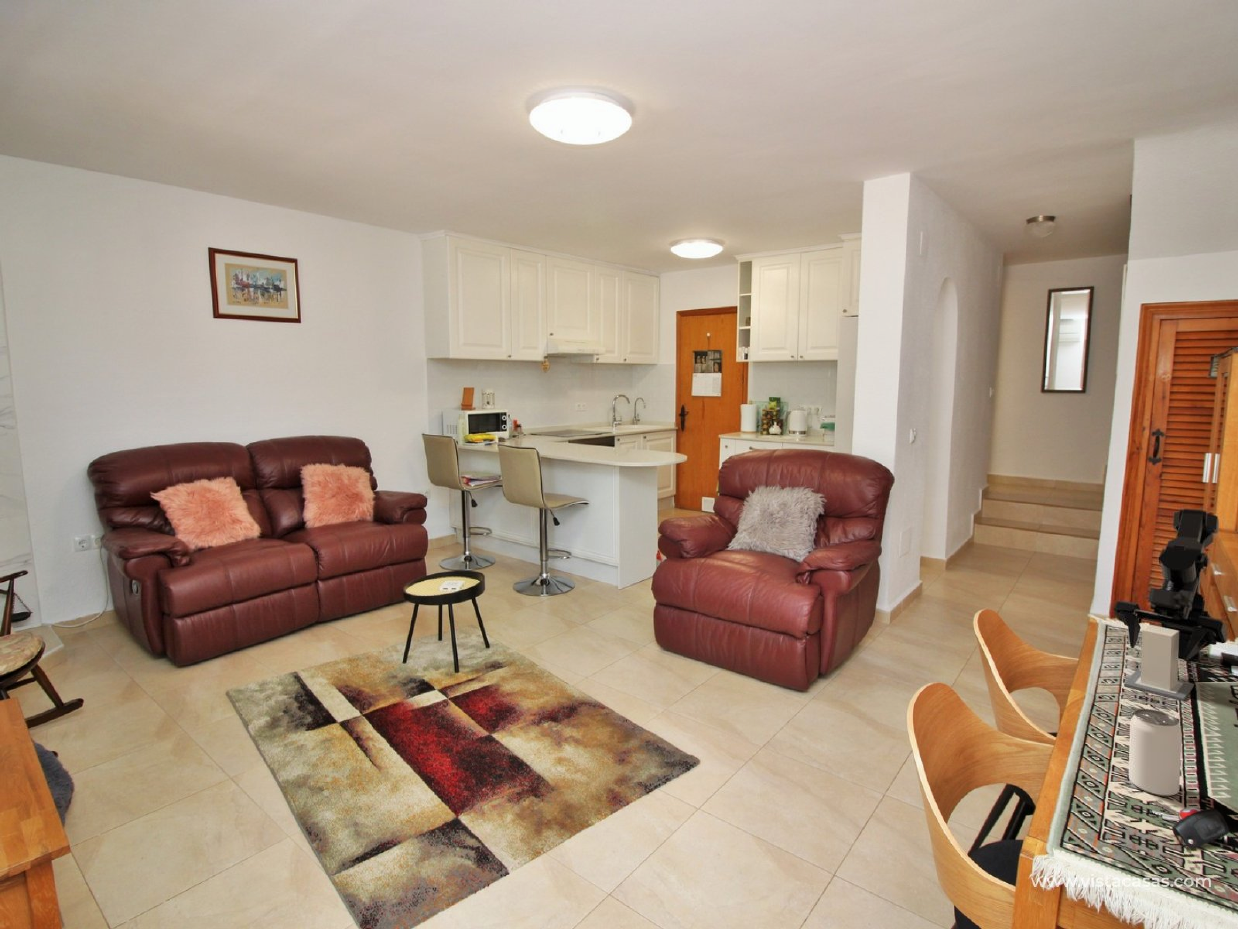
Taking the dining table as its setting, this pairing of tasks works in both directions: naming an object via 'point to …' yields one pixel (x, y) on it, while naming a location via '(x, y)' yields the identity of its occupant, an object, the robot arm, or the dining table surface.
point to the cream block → (1159, 657)
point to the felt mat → (1176, 692)
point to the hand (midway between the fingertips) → (1157, 653)
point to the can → (1155, 752)
